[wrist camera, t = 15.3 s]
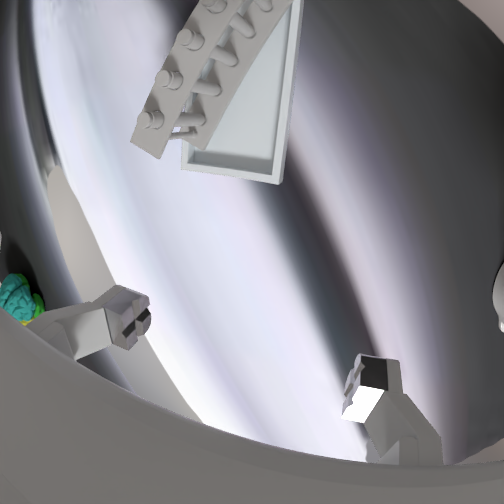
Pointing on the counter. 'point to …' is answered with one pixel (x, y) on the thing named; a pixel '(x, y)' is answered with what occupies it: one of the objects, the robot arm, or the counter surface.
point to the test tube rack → (191, 65)
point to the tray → (254, 109)
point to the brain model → (20, 299)
